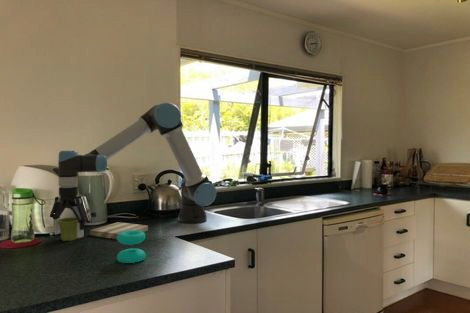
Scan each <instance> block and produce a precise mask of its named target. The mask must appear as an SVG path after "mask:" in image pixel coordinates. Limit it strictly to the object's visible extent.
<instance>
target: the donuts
mask: <svg viewBox="0 0 470 313" xmlns="http://www.w3.org/2000/svg"><path fill="white" fill-rule="evenodd" d="M145 239H146V232H142V231H138V230H130V231H124V232H121V233H119V234H118V235H117V239H116V241H117V242H118V243H120V244H122V245H127V246H131V245H133V246H134V245H137V244H141V243H142V242H144V241H145ZM146 256H147V255H146V252H145V251H144V250H143V249H142V248H141V249H140V248H126V249H123V250H121V251H119V252H118V253H117V255H116V260H117V262H119V263H121V262H122V263H121V264H124V263H133V264H136V263H135V262H138V263H140V262H139V261H141V262H143V261H144V260H145V259H146ZM142 260H143V261H142Z"/></svg>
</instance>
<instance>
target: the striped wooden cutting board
mask: <svg viewBox="0 0 470 313" xmlns="http://www.w3.org/2000/svg"><path fill="white" fill-rule="evenodd" d="M130 230H138V231H142V232H144V233H146V231H147V232H148V231H149V225H145V224H139V223H138V224H136V223H129V222H121V221H120V222H118V221H117V222H114V223H110V224H107V225H104V226H99V227H97V228H93V229H90V232H89V234H90V236H91V237H92V236H94V237H99V238H105V239H111V238H112V240H117V235H118V234H119V233H121V232H124V231H130Z"/></svg>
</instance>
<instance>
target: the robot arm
mask: <svg viewBox="0 0 470 313" xmlns="http://www.w3.org/2000/svg"><path fill="white" fill-rule="evenodd" d="M181 117H182V115H181V111H180V109H179V107H178V106H177V105H176V104H174V103H171V102H162V103H158V104H156V105H153V106H152V107H151V108H149V109H148V110H147V111H146V112H144V113H143V114H142V115H140V116H139V117H138V120H137V121H135V122H133V124H131V125H129V126H127V127H126V128H125V129H123V130H122V131H120V132H118V133H117V134H116V135H114V136H112V137H111V138H109V139H108V140H107V141H104V142H103V143H102V144H100V145H99V146H97V147H96V148H93V150H91V151H89V152H88V153H85V154H78V150H60V151H59V152H58V160H57V161H58V164H57V165H58V186H59V188H58V196H55V197H54V202H53V206H52V208H51V211H50V214H49V217H50V218H52V219H53V226H54V228H53V230H54V235H58V234H61V233H60V227H59V225H58V222H57V220H59V219H61V216H62V214H63V212H64V211H65V209H68V210H69V209H70V211H72V212H73V215H74V216H75V217H76V218H77V219H78V223H77V238H76V239H80V238H83V237H85V236H84V235H85V233H84V231H85V223H86V222H87V221H89V216H88V214H87V210H86V209H85V205H84V203H83V202H84V201H83V198H77V196H78V194H79V187H78V186H79V182H78V181H79V179H78V178H79V177H78V176H79V174H78V173H94V172H95V173H101V172H106V171H107V169H108V160H109V159H111V158H112V157H114V156H115V155H117V154H118V153H120V152H121V151H123V150H124V149H126V148H127V147H129V146H130V145H132V144H134V143H135V142H136V141H138V140H139V139H141V138H142V137H144V136H145V135H146V134H152V133H153V132H155V131H157V130H158V132H159V135H160V136H161V137H164V138H165V139H166V142H167V143H168V145H169V147H170V149H171V151H172V154H173V157H174V158H175V160H176V162H177V164H178V166H179V168H180V170H181V172H182V175H183V177H184V178H182V179H181V184H180V190H181V192H180V193H181V206H180V210H179V213H178V216H177V217H178V218H177V222H179V223H183V224H200V223H205V222H206V221H207V218H208V216H207V212H206V211H205V207H206V206H210V205H212V203H213V202H214V201H215V200H216V197H217V189H216V187H215V185H214V184H213V183H211V181H210V180H209V178H208V175H207V174H206V173H203V172H202V170H201V167H200V166H199V163H198V161H197V160H196V158H195V155H194V153H193V151H192V148H191V147H190V146H191V145H189V142H188V140H187V138H186V136H185V134H184V131H183V127H184V124H183V122H182V119H181ZM54 213H55V214H54Z"/></svg>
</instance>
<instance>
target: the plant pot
mask: <svg viewBox="0 0 470 313" xmlns="http://www.w3.org/2000/svg"><path fill="white" fill-rule="evenodd" d="M58 219H59V218H58ZM57 222H58V225H59V227H60V233H59V234H60V237H61V238H60V239H61V241H63V242H66V241H68V242H72V241H76V240H77V239H78V238H77V223H78V219H77V218H76V216H75V217H73V216H72V217H71V216H70V217H63V218H60V219H59V220H57Z"/></svg>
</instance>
